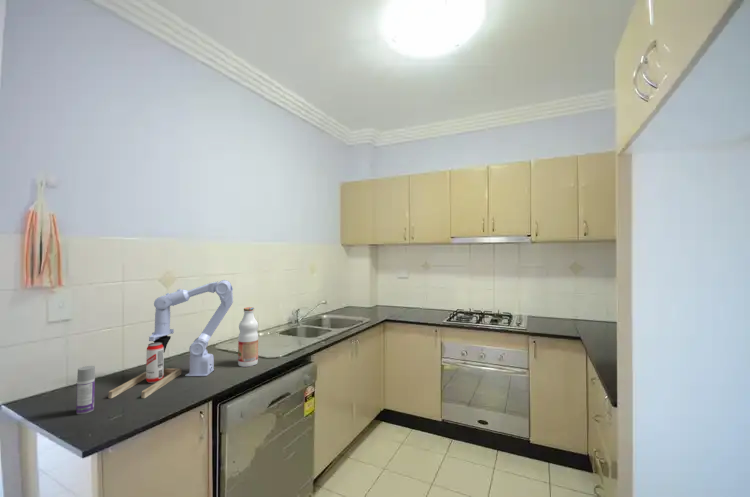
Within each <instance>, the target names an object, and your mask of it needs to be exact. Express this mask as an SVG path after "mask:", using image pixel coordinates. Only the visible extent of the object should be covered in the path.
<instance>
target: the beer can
mask: <svg viewBox="0 0 750 497" xmlns="http://www.w3.org/2000/svg"><path fill="white" fill-rule="evenodd" d="M164 355H165V352H164V346H163V345H162V342H155V343H154V342H151V343H148V344H147V347H146V361H145V362H146V366H145V367H146V369H145V370H146V371H145V372H146V379H145V380H146V382H147V383H149V384H155V383H156V382H158V381H160V380H161V379H163V378H164V377H165V375H164V369H165V368H164V367H165V366H164V362H165V360H164V359H165V357H164Z"/></svg>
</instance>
